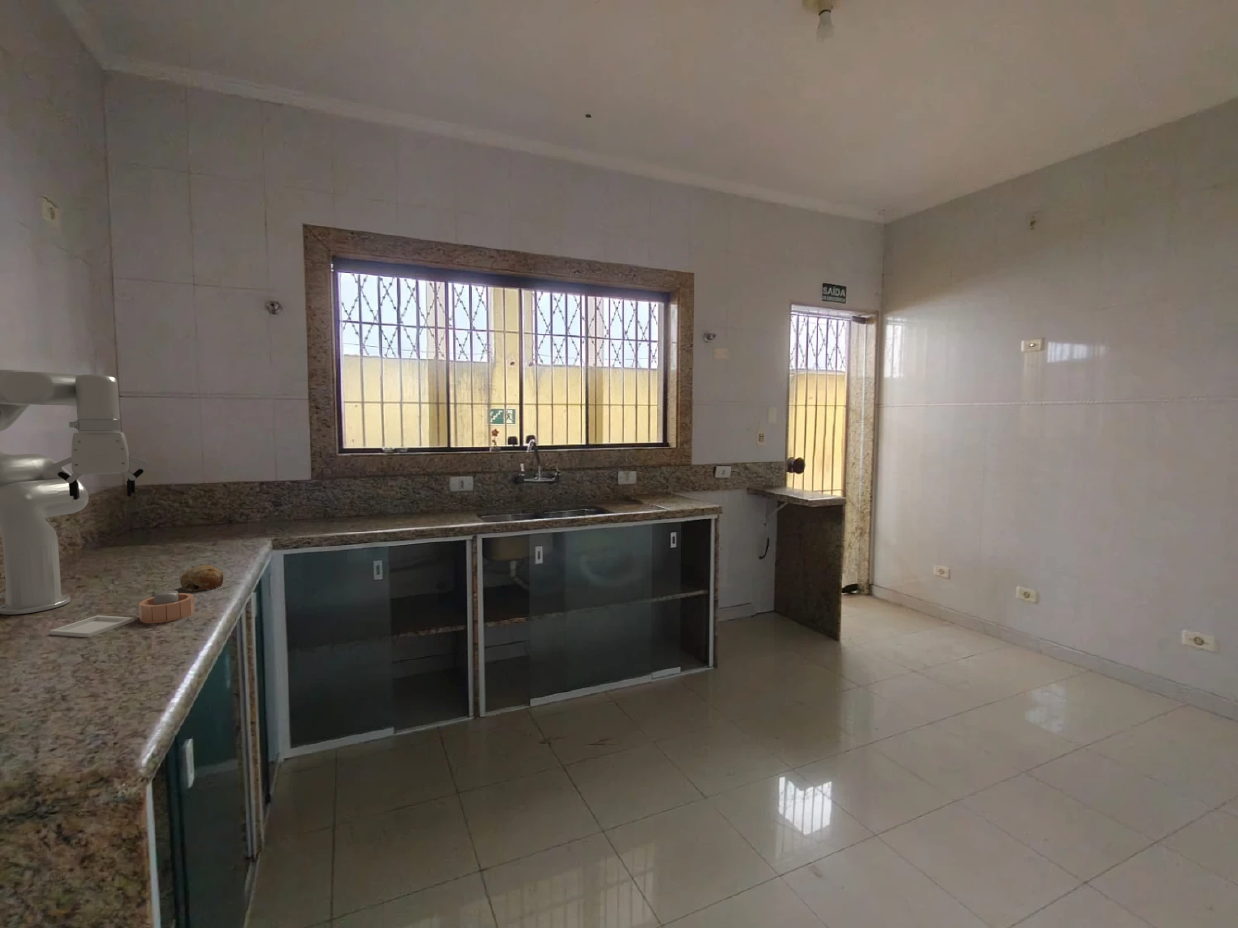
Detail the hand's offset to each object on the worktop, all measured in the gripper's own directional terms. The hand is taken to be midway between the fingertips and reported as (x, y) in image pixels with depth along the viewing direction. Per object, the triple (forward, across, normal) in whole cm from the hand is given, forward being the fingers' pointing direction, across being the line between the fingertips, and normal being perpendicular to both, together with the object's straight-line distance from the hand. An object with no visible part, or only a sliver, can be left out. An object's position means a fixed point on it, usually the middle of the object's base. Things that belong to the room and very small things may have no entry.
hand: (103, 497), depth 137 cm
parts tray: (+28, -2, -13) cm, 31 cm away
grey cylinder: (+28, +11, -13) cm, 32 cm away
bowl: (+28, +11, -13) cm, 33 cm away
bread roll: (+29, +18, +13) cm, 37 cm away
